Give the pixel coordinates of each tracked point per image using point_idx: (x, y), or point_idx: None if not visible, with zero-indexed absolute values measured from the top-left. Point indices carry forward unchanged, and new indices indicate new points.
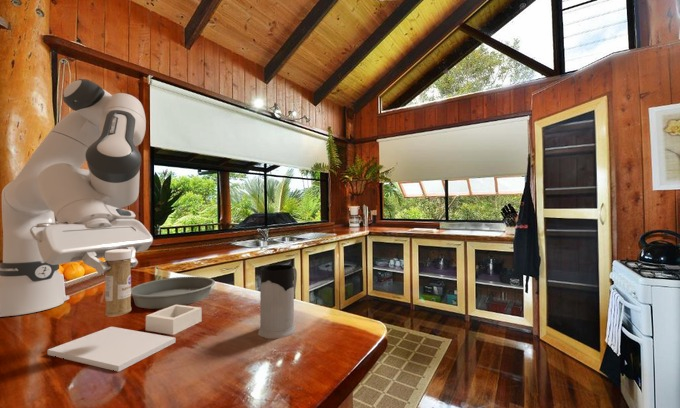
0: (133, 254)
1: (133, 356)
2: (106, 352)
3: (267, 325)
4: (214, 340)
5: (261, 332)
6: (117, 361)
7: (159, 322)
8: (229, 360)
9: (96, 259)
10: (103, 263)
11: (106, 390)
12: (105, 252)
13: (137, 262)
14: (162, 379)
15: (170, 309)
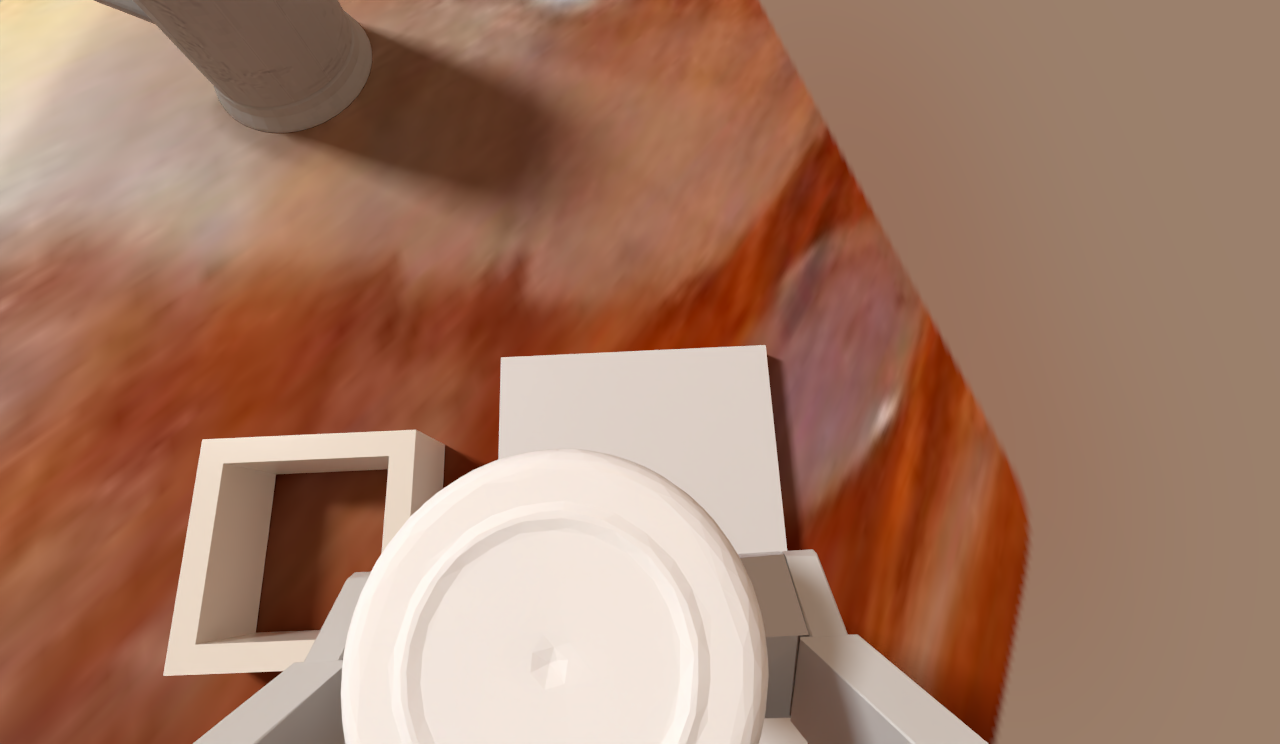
0: (276, 700)
1: (694, 364)
2: (716, 515)
3: (338, 27)
4: (443, 227)
5: (348, 83)
6: (746, 384)
7: None
8: (561, 76)
9: (886, 688)
10: (795, 613)
11: (844, 276)
12: (763, 720)
13: (361, 573)
14: (730, 176)
15: (245, 642)
